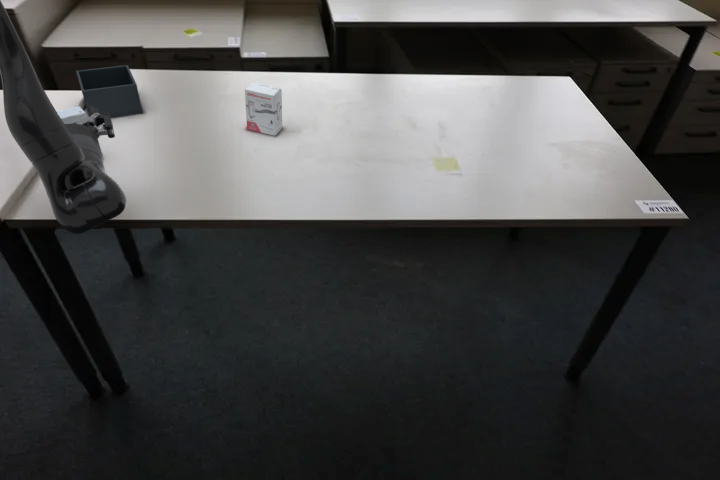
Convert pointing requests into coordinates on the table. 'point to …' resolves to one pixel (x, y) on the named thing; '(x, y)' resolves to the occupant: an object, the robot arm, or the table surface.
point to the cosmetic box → (72, 115)
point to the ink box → (263, 108)
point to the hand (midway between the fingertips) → (69, 113)
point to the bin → (110, 90)
